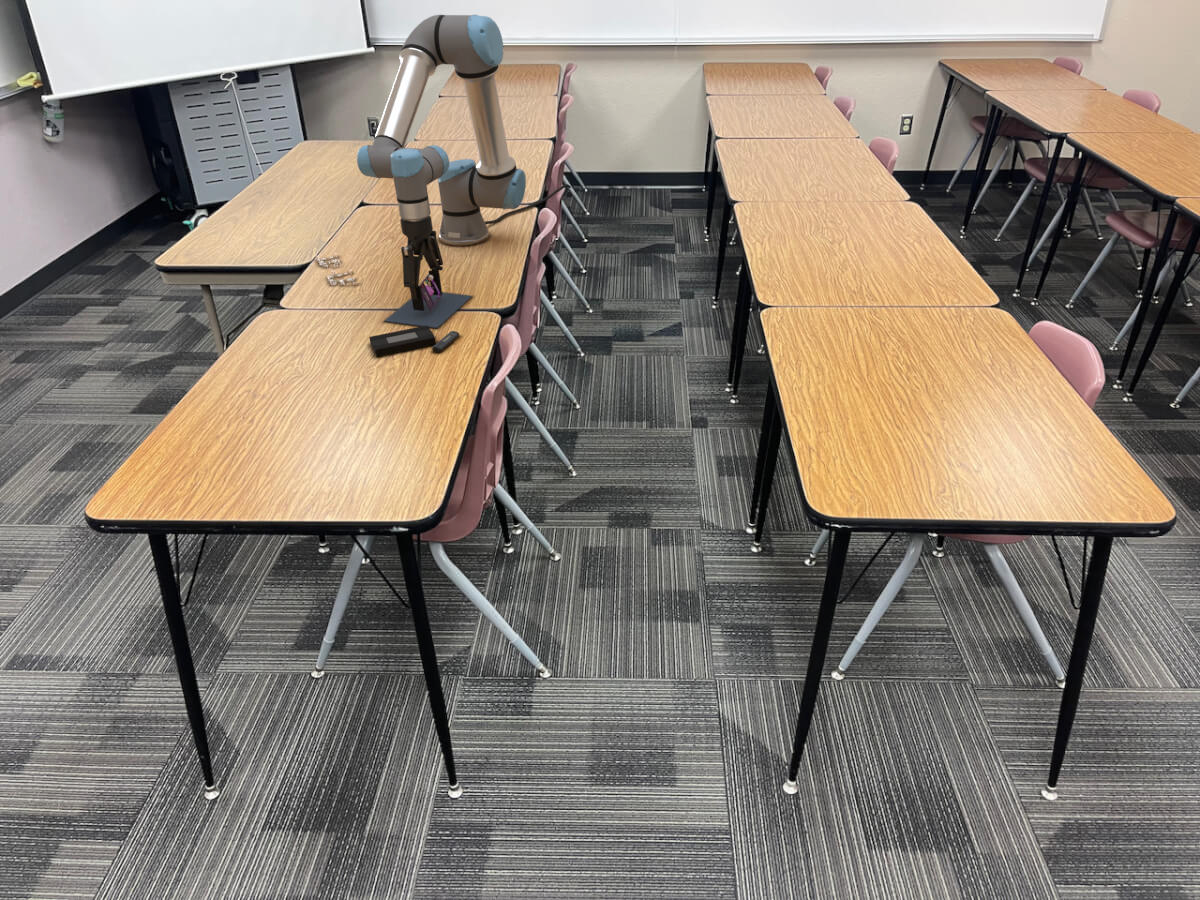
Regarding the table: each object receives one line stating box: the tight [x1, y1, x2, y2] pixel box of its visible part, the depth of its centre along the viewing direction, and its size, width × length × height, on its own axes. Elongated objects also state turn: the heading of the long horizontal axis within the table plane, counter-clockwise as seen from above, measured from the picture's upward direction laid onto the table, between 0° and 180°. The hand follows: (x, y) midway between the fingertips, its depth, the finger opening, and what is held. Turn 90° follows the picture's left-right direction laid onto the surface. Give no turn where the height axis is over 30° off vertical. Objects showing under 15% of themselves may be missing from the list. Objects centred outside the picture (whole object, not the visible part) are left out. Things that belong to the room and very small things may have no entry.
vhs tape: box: [368, 325, 437, 358], centre depth 195 cm, size 8×14×2 cm, turn 114°
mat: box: [384, 291, 473, 330], centre depth 212 cm, size 20×15×1 cm
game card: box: [419, 273, 441, 310], centre depth 210 cm, size 7×5×9 cm
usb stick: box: [431, 330, 460, 353], centre depth 195 cm, size 10×3×2 cm, turn 158°
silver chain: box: [315, 252, 358, 287], centre depth 234 cm, size 7×25×2 cm, turn 25°
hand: (428, 302), depth 211 cm, fingers closed on game card, 9 cm apart
